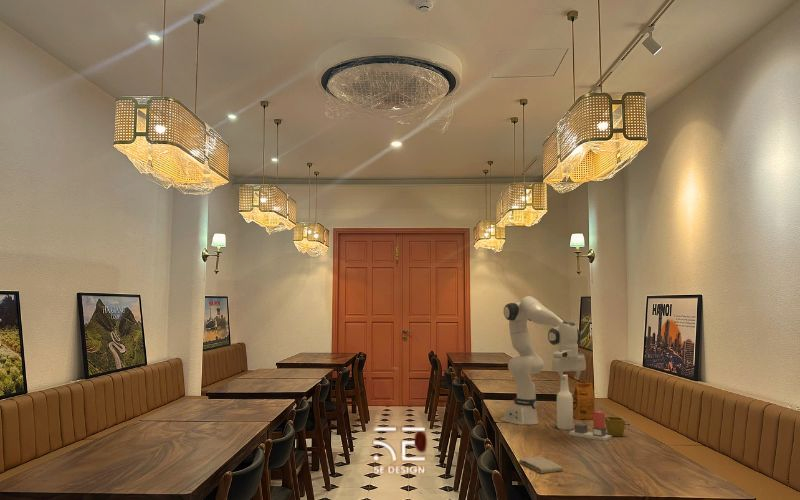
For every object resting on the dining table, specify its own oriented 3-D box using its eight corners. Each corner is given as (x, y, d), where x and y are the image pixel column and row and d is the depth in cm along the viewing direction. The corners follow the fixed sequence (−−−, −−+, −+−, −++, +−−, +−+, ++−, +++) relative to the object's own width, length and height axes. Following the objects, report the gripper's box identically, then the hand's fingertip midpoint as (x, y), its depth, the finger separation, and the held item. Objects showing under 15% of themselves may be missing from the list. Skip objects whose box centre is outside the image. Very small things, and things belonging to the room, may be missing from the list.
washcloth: (539, 461, 252) (539, 454, 252) (564, 472, 235) (564, 465, 236) (517, 463, 248) (517, 456, 248) (541, 475, 231) (541, 467, 231)
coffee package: (571, 416, 351) (570, 381, 353) (590, 416, 351) (590, 381, 353) (576, 420, 341) (575, 383, 343) (596, 420, 341) (595, 383, 343)
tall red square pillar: (599, 428, 293) (598, 413, 294) (593, 427, 296) (593, 411, 297) (604, 427, 295) (604, 412, 295) (599, 426, 298) (598, 411, 299)
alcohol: (571, 427, 321) (570, 374, 324) (574, 430, 312) (573, 376, 315) (555, 426, 322) (555, 373, 324) (558, 430, 313) (557, 375, 316)
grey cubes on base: (569, 434, 301) (568, 424, 302) (574, 432, 308) (574, 422, 308) (606, 441, 289) (606, 430, 289) (611, 438, 295) (611, 427, 295)
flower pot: (621, 433, 306) (620, 416, 307) (626, 437, 297) (625, 420, 298) (604, 433, 307) (604, 416, 308) (609, 436, 298) (608, 419, 299)
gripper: (580, 351, 300) (580, 378, 298) (550, 353, 291) (550, 379, 289) (588, 352, 294) (589, 379, 293) (558, 354, 285) (558, 381, 284)
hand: (569, 379), depth 291 cm, fingers open, 8 cm apart
